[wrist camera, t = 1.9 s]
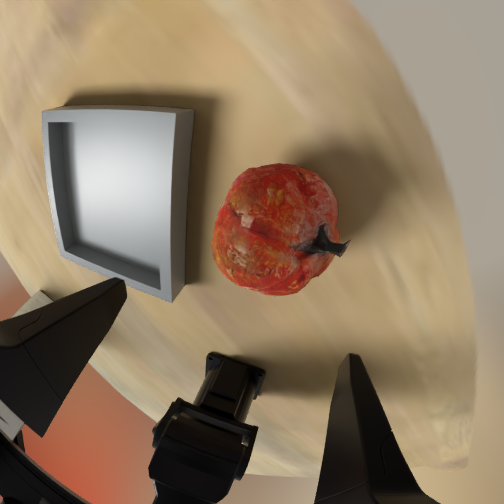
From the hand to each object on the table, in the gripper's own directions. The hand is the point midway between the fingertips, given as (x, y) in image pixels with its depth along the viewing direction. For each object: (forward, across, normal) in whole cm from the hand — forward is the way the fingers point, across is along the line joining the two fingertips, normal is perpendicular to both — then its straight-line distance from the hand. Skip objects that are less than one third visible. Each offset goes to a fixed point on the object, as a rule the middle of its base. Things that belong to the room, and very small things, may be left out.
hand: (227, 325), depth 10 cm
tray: (+11, +14, +2) cm, 18 cm away
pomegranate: (+11, 0, 0) cm, 11 cm away
